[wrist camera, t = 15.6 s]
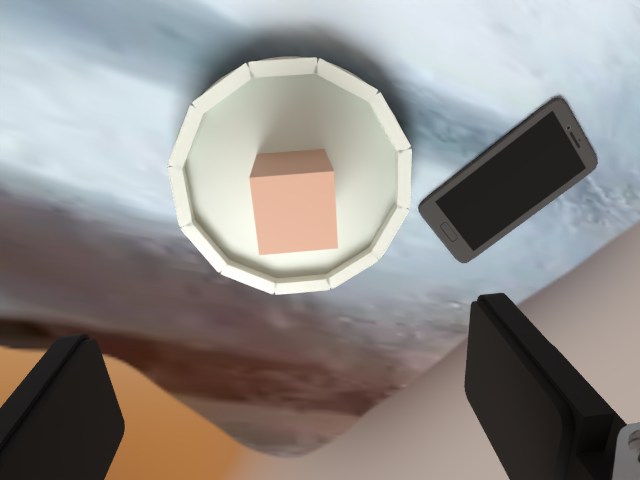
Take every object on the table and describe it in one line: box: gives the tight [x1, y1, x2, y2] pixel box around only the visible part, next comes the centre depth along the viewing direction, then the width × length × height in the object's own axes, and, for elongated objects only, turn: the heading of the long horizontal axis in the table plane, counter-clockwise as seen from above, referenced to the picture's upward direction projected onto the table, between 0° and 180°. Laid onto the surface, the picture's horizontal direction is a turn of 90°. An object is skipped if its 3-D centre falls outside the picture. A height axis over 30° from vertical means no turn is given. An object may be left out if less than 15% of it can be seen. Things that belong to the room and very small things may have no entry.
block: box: [249, 149, 338, 255], centre depth 29 cm, size 5×5×7 cm
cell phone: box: [418, 98, 598, 263], centre depth 36 cm, size 7×14×1 cm, turn 130°
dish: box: [167, 56, 412, 295], centre depth 33 cm, size 18×18×3 cm
